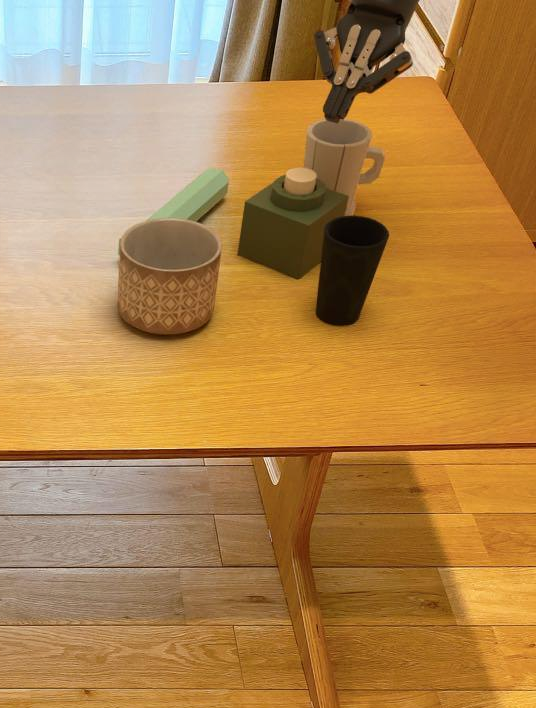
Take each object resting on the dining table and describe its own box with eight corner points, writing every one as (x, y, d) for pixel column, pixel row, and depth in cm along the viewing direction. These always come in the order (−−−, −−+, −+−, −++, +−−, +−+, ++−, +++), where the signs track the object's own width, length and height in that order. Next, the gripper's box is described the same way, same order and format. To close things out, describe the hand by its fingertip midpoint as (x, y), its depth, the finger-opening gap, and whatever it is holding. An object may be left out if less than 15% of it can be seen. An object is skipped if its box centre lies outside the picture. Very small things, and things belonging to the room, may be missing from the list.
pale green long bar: (212, 152, 152) (127, 223, 139) (243, 175, 152) (161, 249, 138) (195, 183, 157) (111, 254, 143) (225, 206, 156) (143, 280, 143)
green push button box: (337, 249, 144) (352, 183, 136) (298, 279, 139) (311, 212, 132) (276, 226, 149) (287, 161, 141) (237, 254, 144) (246, 188, 137)
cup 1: (331, 186, 156) (347, 108, 147) (376, 210, 151) (395, 131, 142) (280, 207, 152) (293, 129, 144) (324, 232, 147) (341, 153, 138)
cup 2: (362, 335, 130) (383, 252, 121) (301, 324, 132) (319, 241, 123) (371, 303, 134) (393, 220, 126) (313, 292, 137) (331, 210, 128)
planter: (138, 278, 141) (142, 209, 133) (226, 299, 137) (235, 229, 129) (101, 327, 134) (104, 257, 126) (193, 351, 129) (201, 279, 122)
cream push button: (319, 187, 137) (322, 173, 135) (303, 199, 135) (306, 184, 133) (294, 178, 139) (296, 164, 137) (277, 190, 137) (280, 175, 135)
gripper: (338, -48, 123) (275, 96, 127) (445, -26, 117) (375, 124, 121) (350, -20, 129) (290, 116, 133) (452, 2, 123) (386, 144, 128)
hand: (331, 120), depth 127 cm, fingers closed
